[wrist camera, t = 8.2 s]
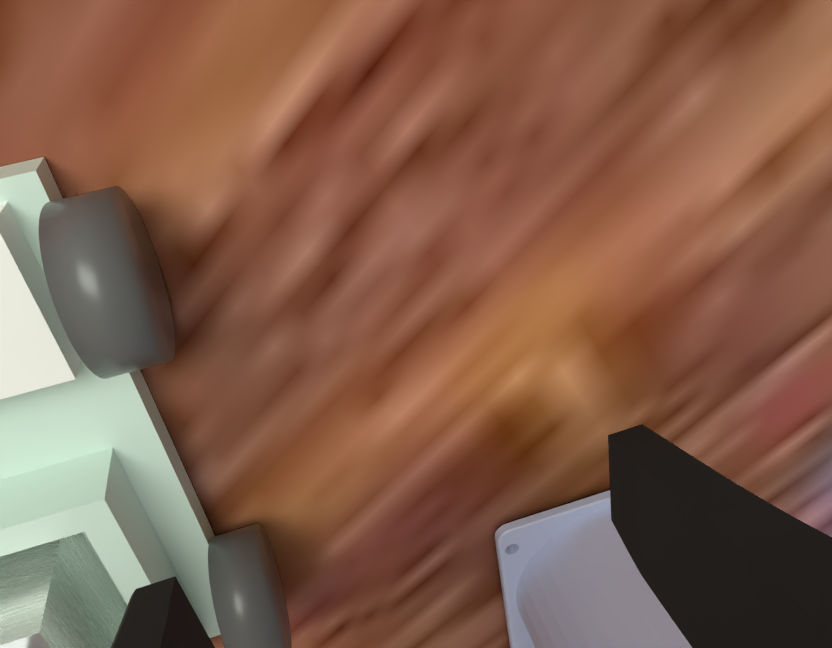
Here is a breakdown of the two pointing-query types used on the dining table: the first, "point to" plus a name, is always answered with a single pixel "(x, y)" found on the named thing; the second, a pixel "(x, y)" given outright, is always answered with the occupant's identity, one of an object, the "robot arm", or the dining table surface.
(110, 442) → the chassis
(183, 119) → the dining table surface
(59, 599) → the grey boxy piece
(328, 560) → the dining table surface
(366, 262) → the dining table surface
